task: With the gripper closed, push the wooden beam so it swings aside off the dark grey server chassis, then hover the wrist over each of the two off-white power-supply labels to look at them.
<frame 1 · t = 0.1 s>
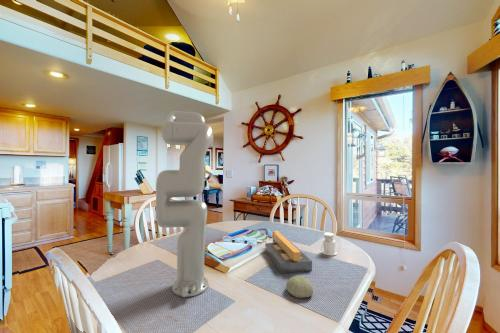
hand: (196, 188, 124), 31 cm above the table, tool pointing down, fingers open, 9 cm apart
wooden beam: (284, 243, 107), point 7 cm above the table, hinge at 0.0°
sea urchin shell: (299, 293, 78), on the table
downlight: (329, 253, 114), on the table
server chassis: (286, 259, 104), on the table
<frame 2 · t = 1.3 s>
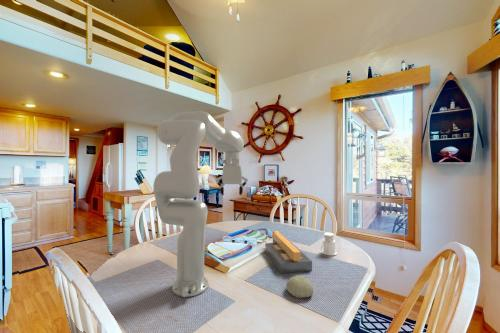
hand: (231, 194, 117), 29 cm above the table, tool pointing down, fingers open, 9 cm apart
nothing on the table moved.
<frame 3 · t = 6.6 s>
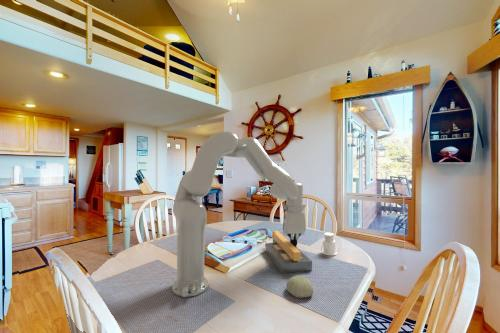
hand: (293, 246, 105), 6 cm above the table, tool pointing down, fingers closed
wooden beam: (284, 243, 107), point 7 cm above the table, hinge at 0.1°, touching gripper
everything else where it was.
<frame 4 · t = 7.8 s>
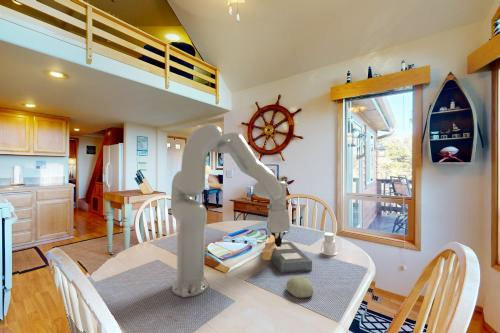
hand: (278, 245, 104), 7 cm above the table, tool pointing down, fingers closed
wooden beam: (271, 243, 107), point 7 cm above the table, hinge at 26.5°, touching gripper
everything else where it was.
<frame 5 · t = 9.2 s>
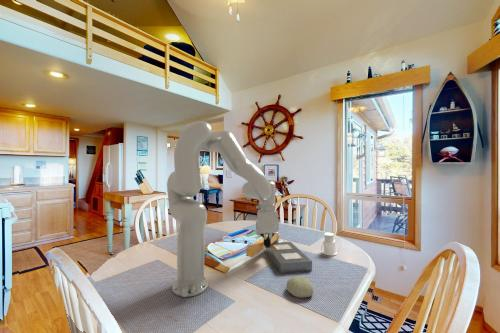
hand: (267, 246, 103), 7 cm above the table, tool pointing down, fingers closed
wooden beam: (264, 242, 109), point 7 cm above the table, hinge at 42.1°, touching gripper
everything else where it was.
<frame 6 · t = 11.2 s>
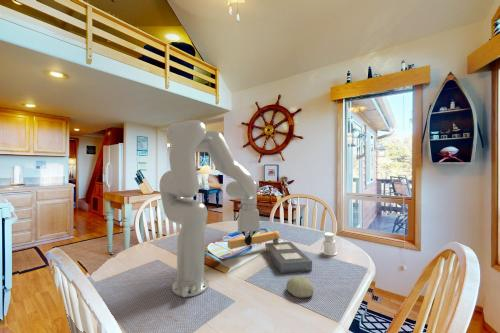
hand: (248, 244, 107), 6 cm above the table, tool pointing down, fingers closed
wooden beam: (255, 239, 113), point 7 cm above the table, hinge at 69.0°, touching gripper
everything else where it was.
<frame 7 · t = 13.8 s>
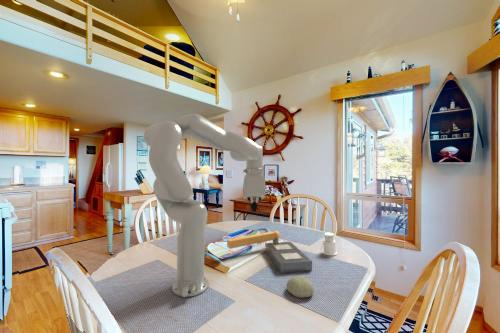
hand: (253, 211, 103), 23 cm above the table, tool pointing down, fingers closed
wooden beam: (255, 238, 113), point 7 cm above the table, hinge at 70.1°
everything else where it was.
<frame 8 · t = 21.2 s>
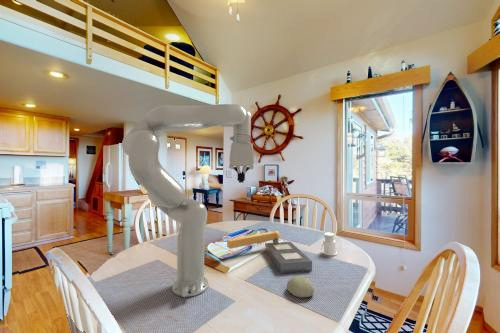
hand: (241, 182, 96), 37 cm above the table, tool pointing down, fingers closed
nothing on the table moved.
at the end: wooden beam at +70° (first picture: +0°); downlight moved 0.3 cm from its start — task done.
